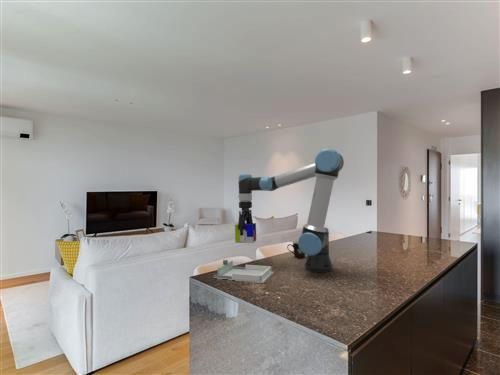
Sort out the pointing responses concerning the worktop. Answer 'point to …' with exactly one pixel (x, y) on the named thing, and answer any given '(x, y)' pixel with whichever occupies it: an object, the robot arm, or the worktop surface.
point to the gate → (225, 267)
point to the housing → (248, 273)
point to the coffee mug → (297, 250)
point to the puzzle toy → (246, 233)
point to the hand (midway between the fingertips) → (245, 239)
